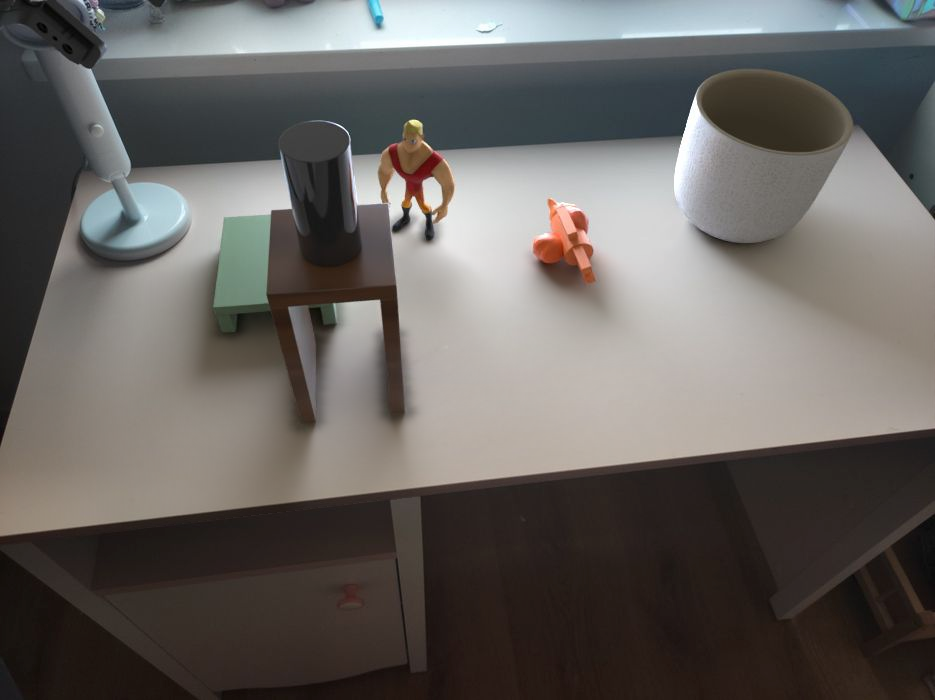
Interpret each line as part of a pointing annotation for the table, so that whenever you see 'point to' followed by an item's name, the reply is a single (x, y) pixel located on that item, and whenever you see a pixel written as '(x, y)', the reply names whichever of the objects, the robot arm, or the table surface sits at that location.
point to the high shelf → (331, 299)
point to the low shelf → (247, 271)
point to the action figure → (416, 174)
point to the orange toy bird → (566, 239)
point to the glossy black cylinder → (322, 191)
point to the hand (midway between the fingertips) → (135, 26)
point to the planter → (757, 153)
